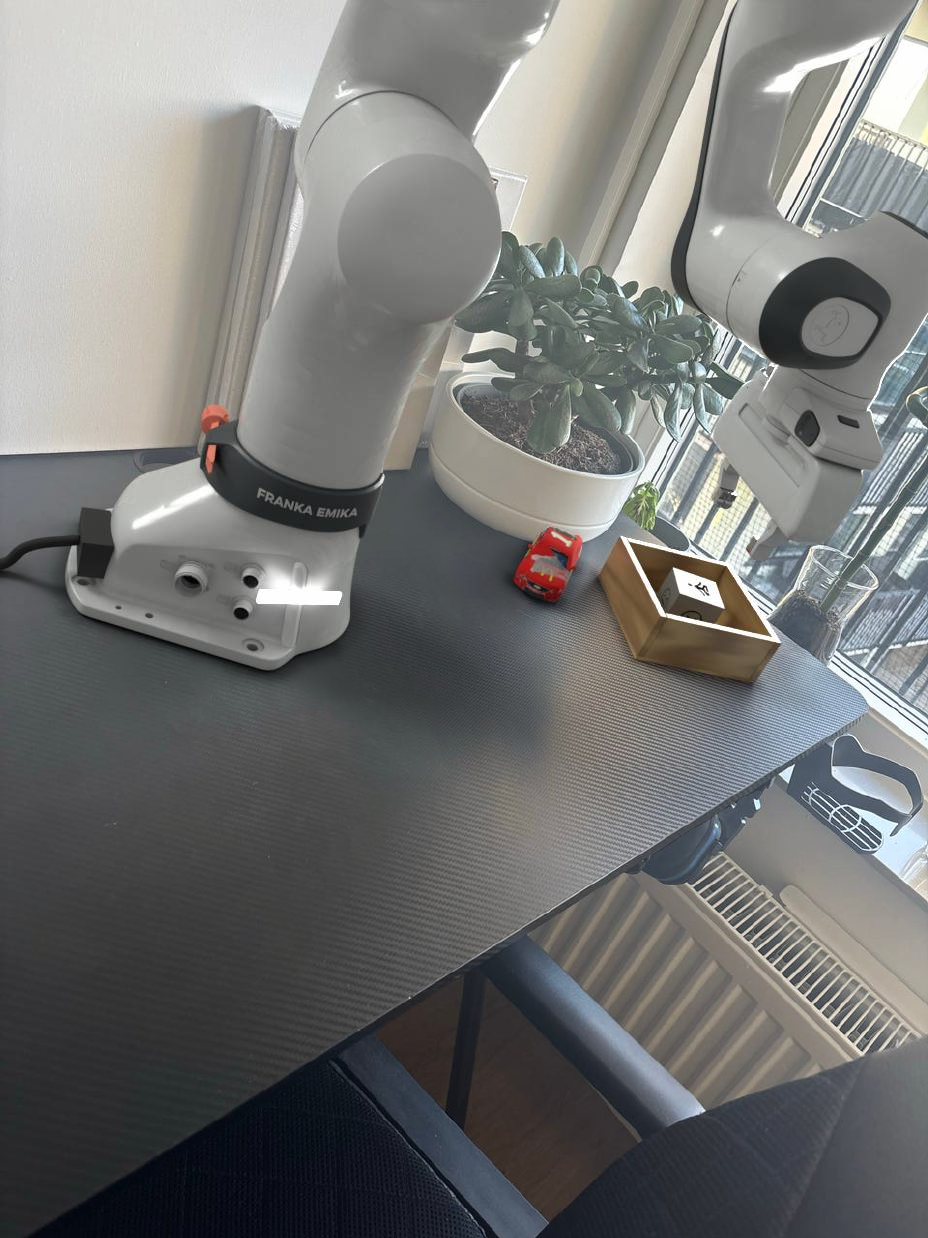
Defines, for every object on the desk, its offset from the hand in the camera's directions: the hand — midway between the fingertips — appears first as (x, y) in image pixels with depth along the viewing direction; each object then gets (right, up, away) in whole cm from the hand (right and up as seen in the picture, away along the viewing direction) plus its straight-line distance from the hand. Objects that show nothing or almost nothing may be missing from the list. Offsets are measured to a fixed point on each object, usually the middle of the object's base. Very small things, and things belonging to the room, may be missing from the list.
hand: (736, 529), depth 93 cm
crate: (-5, -10, +7) cm, 13 cm away
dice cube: (-5, -10, +7) cm, 13 cm away
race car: (-18, -4, +6) cm, 20 cm away
